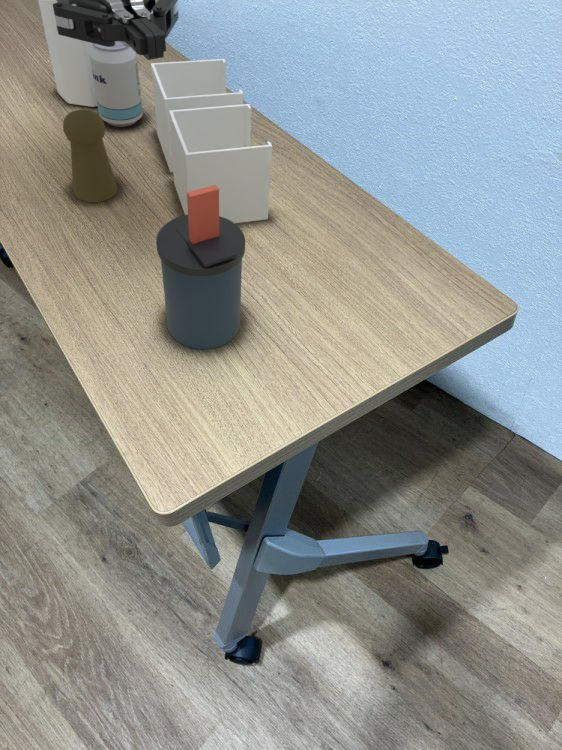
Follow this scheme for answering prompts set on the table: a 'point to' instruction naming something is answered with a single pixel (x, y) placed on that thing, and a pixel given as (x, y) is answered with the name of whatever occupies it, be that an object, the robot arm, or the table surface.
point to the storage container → (210, 138)
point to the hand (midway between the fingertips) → (156, 47)
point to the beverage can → (116, 83)
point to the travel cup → (200, 286)
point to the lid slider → (206, 227)
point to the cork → (89, 157)
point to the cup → (68, 61)
